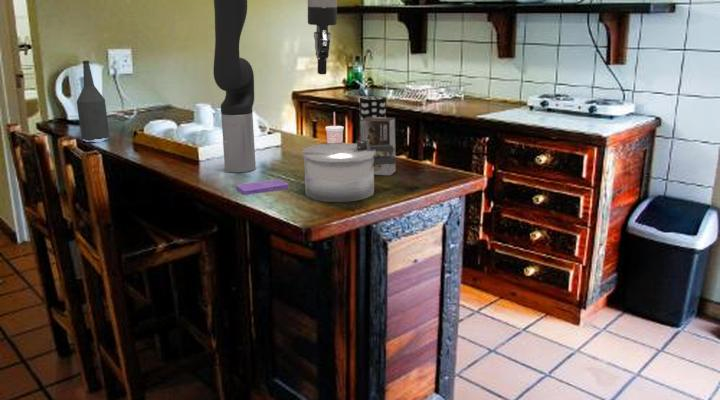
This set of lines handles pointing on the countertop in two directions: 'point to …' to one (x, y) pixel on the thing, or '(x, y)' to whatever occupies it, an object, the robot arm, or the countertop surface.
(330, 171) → the pot
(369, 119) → the coffee box
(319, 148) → the lid
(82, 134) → the bottle
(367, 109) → the white-spotted black cylinder
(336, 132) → the beverage cup
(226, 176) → the countertop surface
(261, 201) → the countertop surface
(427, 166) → the countertop surface
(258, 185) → the sponges
